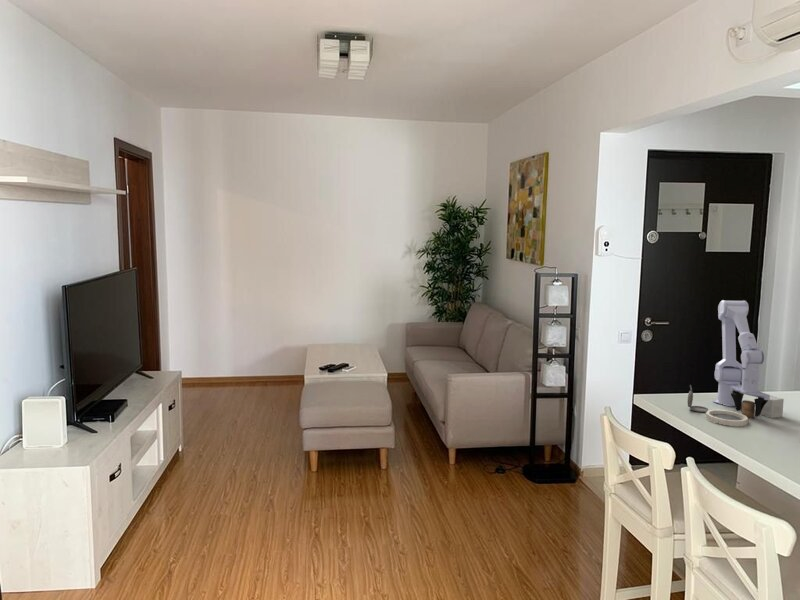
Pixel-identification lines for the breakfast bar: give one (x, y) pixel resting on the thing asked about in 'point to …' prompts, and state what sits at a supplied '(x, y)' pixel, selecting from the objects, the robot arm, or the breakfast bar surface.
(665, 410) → the breakfast bar surface
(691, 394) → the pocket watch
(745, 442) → the breakfast bar surface
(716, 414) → the round tray
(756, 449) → the breakfast bar surface
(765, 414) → the skincare box
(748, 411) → the walnut cylinder
